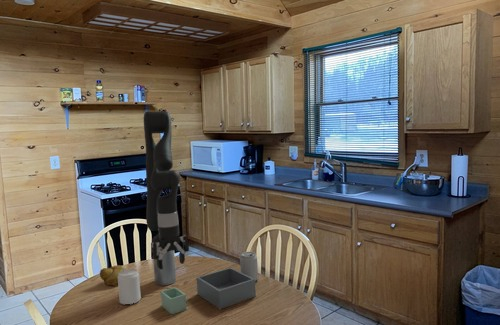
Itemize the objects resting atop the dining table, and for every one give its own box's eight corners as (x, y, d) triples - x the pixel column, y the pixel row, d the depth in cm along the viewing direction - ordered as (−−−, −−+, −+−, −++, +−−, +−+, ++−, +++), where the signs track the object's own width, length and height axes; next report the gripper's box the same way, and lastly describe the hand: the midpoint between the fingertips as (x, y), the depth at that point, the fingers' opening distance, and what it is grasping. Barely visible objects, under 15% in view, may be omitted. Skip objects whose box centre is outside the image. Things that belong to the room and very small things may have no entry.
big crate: (197, 293, 162) (196, 277, 162) (231, 282, 172) (230, 267, 171) (220, 309, 148) (219, 291, 147) (255, 296, 158) (254, 279, 157)
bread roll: (115, 275, 187) (113, 259, 186) (133, 276, 185) (132, 260, 184) (98, 287, 174) (97, 269, 174) (118, 288, 172) (116, 270, 171)
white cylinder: (144, 297, 161) (142, 269, 160) (132, 306, 153) (130, 276, 152) (128, 295, 164) (125, 267, 162) (115, 304, 156) (112, 275, 155)
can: (256, 283, 170) (255, 256, 169) (239, 283, 171) (238, 256, 170) (259, 277, 177) (258, 251, 176) (243, 276, 179) (242, 250, 177)
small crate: (161, 306, 153) (160, 291, 152) (176, 301, 157) (175, 287, 156) (171, 314, 146) (170, 299, 145) (186, 309, 149) (185, 294, 149)
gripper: (181, 218, 155) (184, 259, 157) (146, 225, 147) (149, 268, 148) (190, 222, 149) (193, 263, 151) (154, 229, 141) (157, 273, 142)
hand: (171, 266), depth 150 cm, fingers open, 8 cm apart
